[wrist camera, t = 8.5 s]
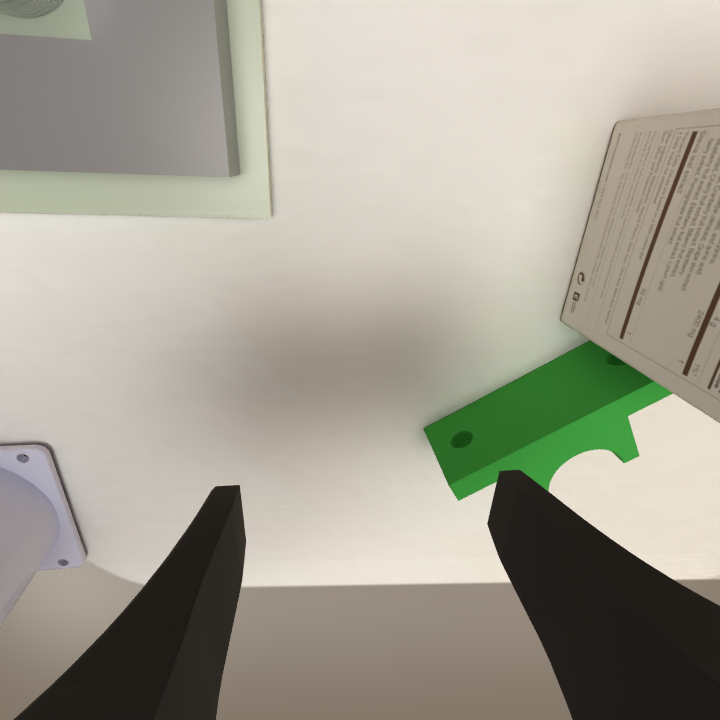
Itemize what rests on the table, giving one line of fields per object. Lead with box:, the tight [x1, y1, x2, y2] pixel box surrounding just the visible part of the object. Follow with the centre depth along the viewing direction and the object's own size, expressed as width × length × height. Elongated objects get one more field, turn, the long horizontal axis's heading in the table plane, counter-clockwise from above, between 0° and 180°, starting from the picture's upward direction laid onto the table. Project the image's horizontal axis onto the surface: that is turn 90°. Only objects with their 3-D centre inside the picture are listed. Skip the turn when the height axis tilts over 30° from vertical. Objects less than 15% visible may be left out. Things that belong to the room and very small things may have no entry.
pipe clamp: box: [424, 340, 673, 501], centre depth 21 cm, size 11×4×5 cm, turn 119°
